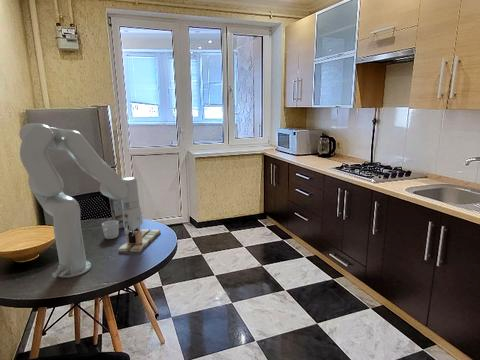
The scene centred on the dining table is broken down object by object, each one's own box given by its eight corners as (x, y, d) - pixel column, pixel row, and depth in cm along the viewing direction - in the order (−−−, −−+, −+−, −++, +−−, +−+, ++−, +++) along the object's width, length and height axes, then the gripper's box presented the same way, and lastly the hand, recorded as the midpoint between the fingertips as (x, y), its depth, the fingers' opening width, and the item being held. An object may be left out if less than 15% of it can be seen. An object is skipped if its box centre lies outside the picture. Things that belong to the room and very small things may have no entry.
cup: (114, 242, 155) (112, 227, 153) (98, 243, 155) (96, 227, 153) (122, 234, 165) (120, 219, 163) (107, 234, 165) (105, 220, 163)
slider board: (139, 253, 142) (138, 249, 141) (118, 252, 143) (118, 248, 143) (160, 233, 165) (160, 229, 164) (142, 232, 166) (142, 228, 166)
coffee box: (128, 226, 176) (125, 198, 172) (116, 229, 173) (112, 201, 169) (124, 221, 183) (120, 195, 180) (112, 224, 180) (109, 197, 176)
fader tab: (139, 246, 146) (138, 234, 145) (127, 246, 147) (125, 233, 146) (142, 243, 149) (141, 231, 148) (131, 243, 150) (129, 230, 149)
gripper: (129, 210, 135) (133, 249, 139) (146, 199, 151) (149, 234, 155) (113, 209, 136) (118, 248, 141) (131, 198, 152) (135, 234, 156)
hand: (134, 240), depth 148 cm, fingers closed on fader tab, 3 cm apart
